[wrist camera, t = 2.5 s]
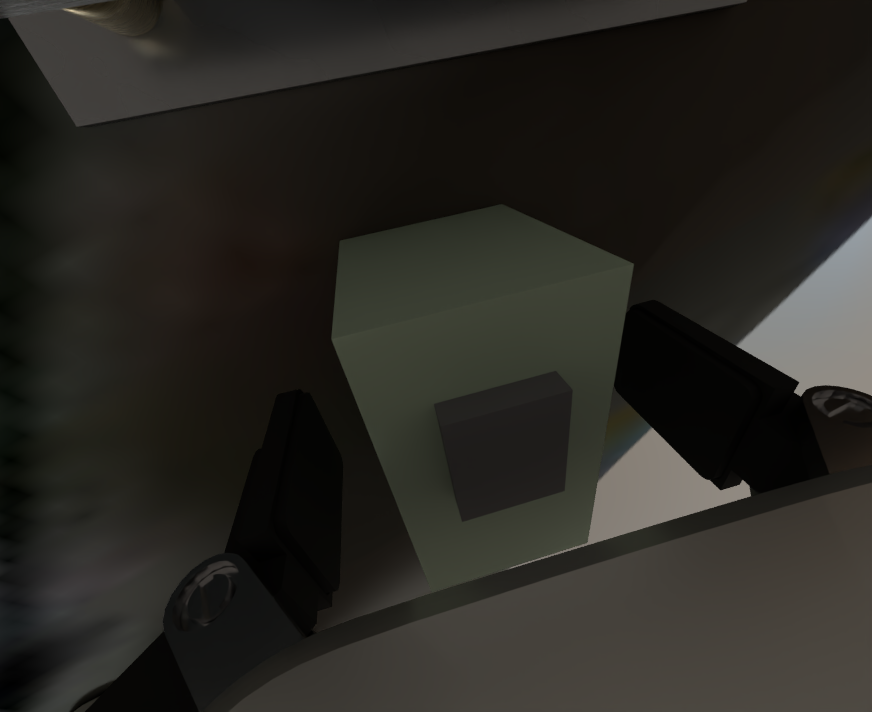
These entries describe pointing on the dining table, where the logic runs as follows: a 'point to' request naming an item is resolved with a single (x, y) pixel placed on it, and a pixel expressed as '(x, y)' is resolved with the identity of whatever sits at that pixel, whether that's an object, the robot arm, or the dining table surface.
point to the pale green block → (483, 380)
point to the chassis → (280, 43)
